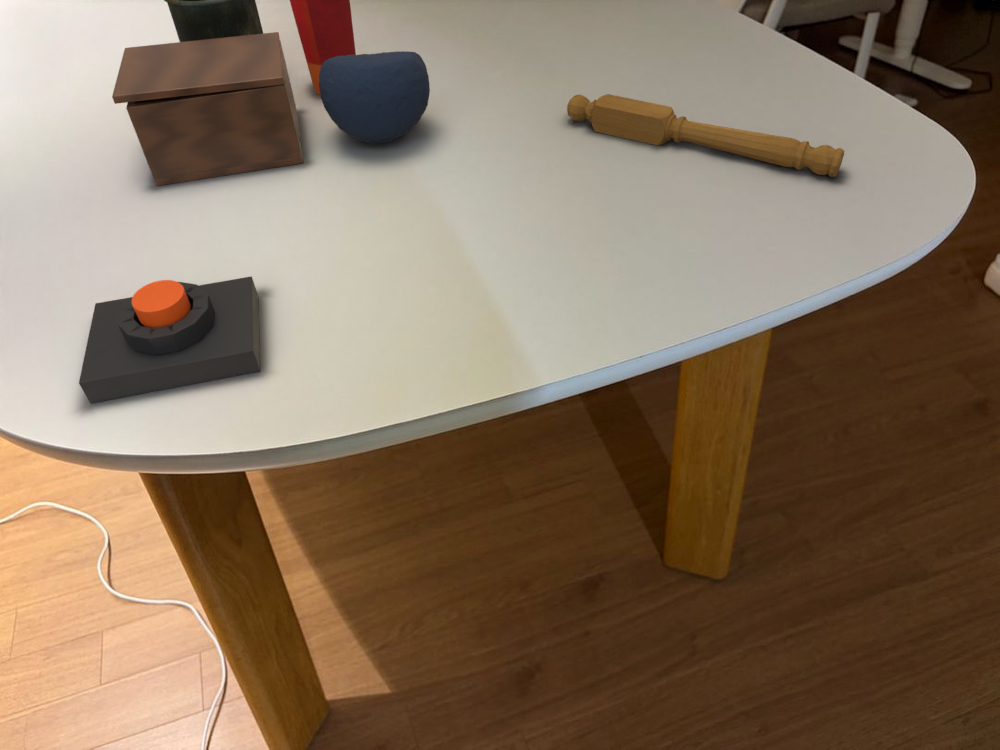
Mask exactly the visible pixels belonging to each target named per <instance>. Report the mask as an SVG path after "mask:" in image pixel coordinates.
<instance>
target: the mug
mask: <svg viewBox="0 0 1000 750" xmlns="http://www.w3.org/2000/svg"><path fill="white" fill-rule="evenodd" d="M163 1H164V2H166V3H167V6H168V9H169V12H170V15H171V16H170V17H171V19H172V22H173V24H174V29H175V32H176V34H177V38H178V42H187V41H196V40H206V39H216V38H225V37H235V36H244V35H254V34H264V31H263V26H262V22H261V18H260V14H259V10H258V5H257V2H256V0H163Z"/></svg>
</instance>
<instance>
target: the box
mask: <svg viewBox="0 0 1000 750" xmlns="http://www.w3.org/2000/svg"><path fill="white" fill-rule="evenodd" d="M280 45H281V55H282V65H283V74H284V84H283V85H275V86H266V87H257V88H248V89H239V90H231V91H222V92H213V93H204V94H196V95H187V96H178V97H169V98H161V99H152V100H143V101H134V102H126V107H125V108H126V111H127V114H128V116H129V119H130V122H131V124H132V126H133V130H134V132H135V134H136V137H137V139H138V142H139V144H140V147H141V150H142V152H143V155H144V157H145V160H146V162H147V165H148V168H149V170H150V172H151V176H152V178H153V180H154V183H155V185H156V187H159V186H166V185H172V184H178V183H185V182H190V181H198V180H203V179H204V180H205V179H210V178H217V177H223V176H229V175H236V174H242V173H249V172H255V171H261V170H268V169H273V168H280V167H286V166H287V167H288V166H293V165H301V164H304V158H303V157H304V156H303V149H302V142H301V141H302V140H301V132H300V124H299V117H298V116H299V114H298V110H297V106H296V101H295V96H294V93H293V88H292V84H291V79H290V75H289V72H288V67H287V63H286V58H285V54H284V51H283V50H284V49H283V45H282V41H281V40H280Z"/></svg>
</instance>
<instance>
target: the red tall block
mask: <svg viewBox="0 0 1000 750" xmlns="http://www.w3.org/2000/svg"><path fill="white" fill-rule="evenodd" d="M289 3H290V6H291V11H292V14H293V18H294V22H295V25H296V29H297V33H298V36H299V40H300V43H301V47H302V51H303V55H304V58H305V62H306V65H307V68H308V72H309V75H310V80H311V83H312V85H313V89H314V92H315V93H316V94H318V95H319V96H321V95H320V89H319V73H320V69H321V66H322V64H323V63H324V61H326V60H328V59H330V58H333V57H336V56H346V55H357V54H356V43H355V35H354V27H353V26H354V25H353V19H352V18H353V17H352V9H351V1H350V0H289Z"/></svg>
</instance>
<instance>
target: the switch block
mask: <svg viewBox="0 0 1000 750" xmlns="http://www.w3.org/2000/svg"><path fill="white" fill-rule="evenodd" d="M178 282H179V283H180V284H181V285H182V286H183V287H184V290H185V292H186V295H187V297H188V300H189V302H190V305H191V309H190V312H189V313H188V314H187V316H186V317H185V318H183V319H181V320H179V321H177V322H176V323H174V324H172V325H170V326H164V327H159V328H149V327H145V326H144V325H142V324H141V323H140V321H139V319H138V316H137V314H136V312H135V310H134V308H133V306H132V297H133V296H129V297H124V298H118V299H113V300H108V301H101V302H96V303H95V304H94V309H93V313H92V318H91V323H90V326H89V327H90V328H89V333H88V337H87V343H86V347H85V352H84V355H83V356H84V357H83V362H82V366H81V370H80V376H79V380H78V384H79V386H80V388H81V389H82V391H83V393H84V395H85V397H86V398H87V400H88V402H89V403H90V404H94V403H99V402H105V401H110V400H115V399H120V398H125V397H130V396H135V395H136V396H137V395H141V394H146V393H147V394H148V393H151V392H157V391H162V390H167V389H173V388H177V387H178V388H179V387H184V386H188V385H195V384H199V383H204V382H210V381H215V380H220V379H225V378H231V377H236V376H241V375H247V374H251V373H257V372H261V348H260V347H261V345H260V314H259V313H260V311H259V294H258V291H257V287H256V285H255V282H254V279H253V276H245V277H240V278H235V279H229V280H222V281H217V282H211V283H205V284H200V285H199V284H196V283H189V282H183V281H178Z"/></svg>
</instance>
